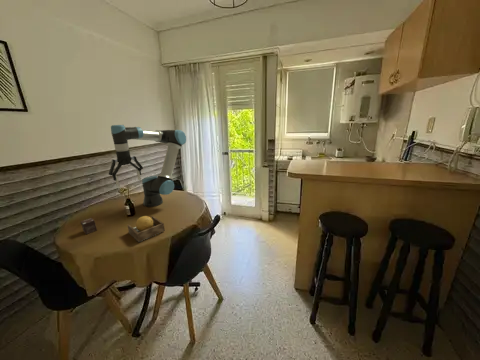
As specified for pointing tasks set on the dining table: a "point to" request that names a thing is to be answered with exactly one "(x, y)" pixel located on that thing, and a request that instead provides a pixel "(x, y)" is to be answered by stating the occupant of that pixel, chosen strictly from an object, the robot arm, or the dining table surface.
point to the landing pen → (147, 230)
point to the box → (88, 226)
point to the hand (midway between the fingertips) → (129, 182)
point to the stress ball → (144, 223)
